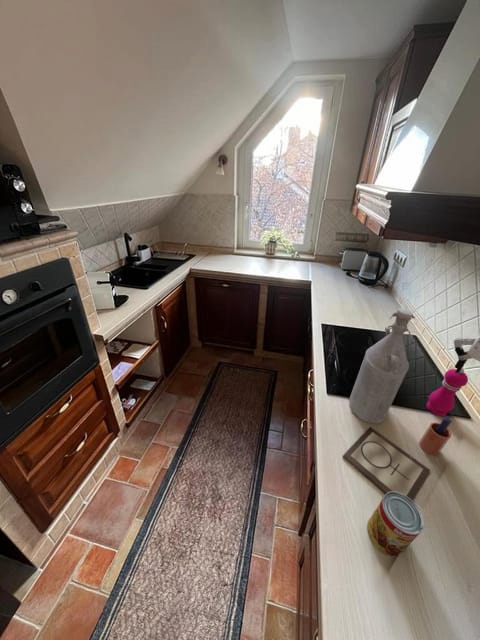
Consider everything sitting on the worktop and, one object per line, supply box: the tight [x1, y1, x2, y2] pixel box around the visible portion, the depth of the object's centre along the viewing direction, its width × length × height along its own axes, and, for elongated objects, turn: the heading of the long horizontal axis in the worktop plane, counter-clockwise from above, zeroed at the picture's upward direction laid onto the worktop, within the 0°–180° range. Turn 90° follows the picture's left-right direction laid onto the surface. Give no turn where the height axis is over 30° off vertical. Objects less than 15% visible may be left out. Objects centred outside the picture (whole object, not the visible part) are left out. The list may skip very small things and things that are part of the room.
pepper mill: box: [425, 367, 469, 417], centre depth 87 cm, size 7×7×20 cm
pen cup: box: [418, 422, 452, 456], centre depth 77 cm, size 5×5×9 cm
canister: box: [348, 307, 416, 424], centre depth 82 cm, size 13×17×40 cm
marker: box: [435, 416, 452, 436], centre depth 76 cm, size 2×2×13 cm
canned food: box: [366, 491, 425, 557], centre depth 57 cm, size 8×8×12 cm
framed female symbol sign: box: [342, 426, 431, 502], centre depth 74 cm, size 18×16×1 cm
